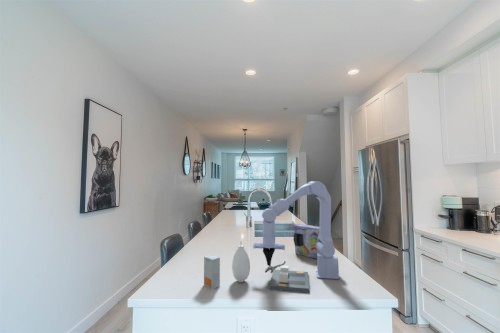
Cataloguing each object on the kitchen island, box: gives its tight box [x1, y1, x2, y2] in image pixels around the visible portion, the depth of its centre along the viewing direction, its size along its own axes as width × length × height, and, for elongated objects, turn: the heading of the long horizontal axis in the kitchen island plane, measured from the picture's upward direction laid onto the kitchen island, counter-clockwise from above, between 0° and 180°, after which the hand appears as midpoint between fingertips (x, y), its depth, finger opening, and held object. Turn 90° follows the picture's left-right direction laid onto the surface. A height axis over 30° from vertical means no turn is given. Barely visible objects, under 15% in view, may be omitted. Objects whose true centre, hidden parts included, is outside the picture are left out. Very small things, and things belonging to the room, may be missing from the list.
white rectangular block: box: [279, 272, 288, 283], centre depth 108 cm, size 4×3×3 cm
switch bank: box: [268, 269, 310, 293], centre depth 112 cm, size 16×19×2 cm
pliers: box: [264, 260, 286, 274], centre depth 133 cm, size 10×1×20 cm
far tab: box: [279, 265, 290, 273], centre depth 117 cm, size 4×3×3 cm
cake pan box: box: [293, 223, 319, 260], centre depth 152 cm, size 19×5×18 cm, turn 37°
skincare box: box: [203, 254, 221, 290], centre depth 108 cm, size 6×4×12 cm
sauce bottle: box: [231, 242, 251, 283], centre depth 113 cm, size 8×8×18 cm
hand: (269, 264), depth 119 cm, fingers closed
